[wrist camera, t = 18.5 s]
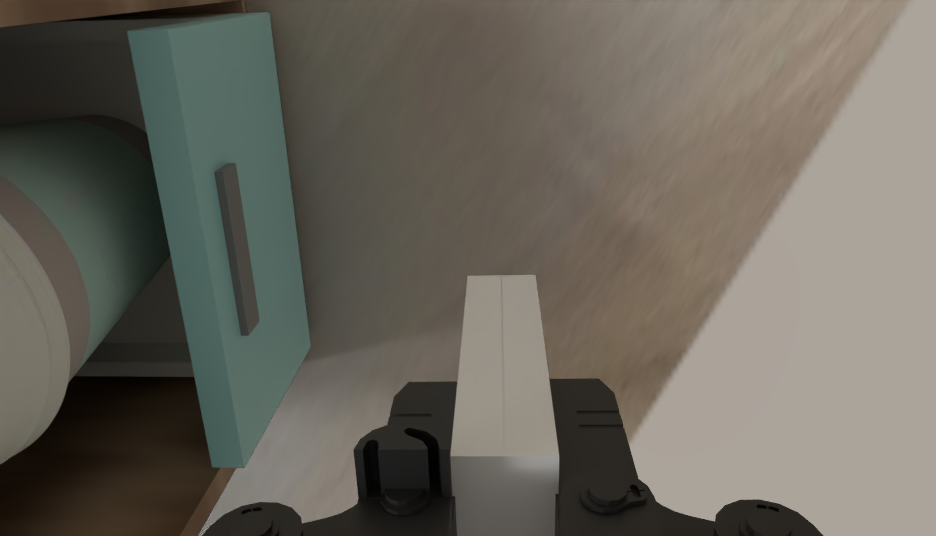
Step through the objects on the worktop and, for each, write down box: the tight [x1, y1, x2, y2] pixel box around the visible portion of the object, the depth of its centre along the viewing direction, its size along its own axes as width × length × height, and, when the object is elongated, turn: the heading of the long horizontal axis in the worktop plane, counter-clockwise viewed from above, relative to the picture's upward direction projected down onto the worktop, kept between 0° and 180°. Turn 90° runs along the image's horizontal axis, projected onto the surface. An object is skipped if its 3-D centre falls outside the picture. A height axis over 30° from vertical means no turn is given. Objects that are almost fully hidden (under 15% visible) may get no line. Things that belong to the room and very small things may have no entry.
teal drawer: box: [0, 12, 311, 468], centre depth 24 cm, size 12×13×8 cm
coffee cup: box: [0, 115, 171, 464], centre depth 21 cm, size 8×8×12 cm
